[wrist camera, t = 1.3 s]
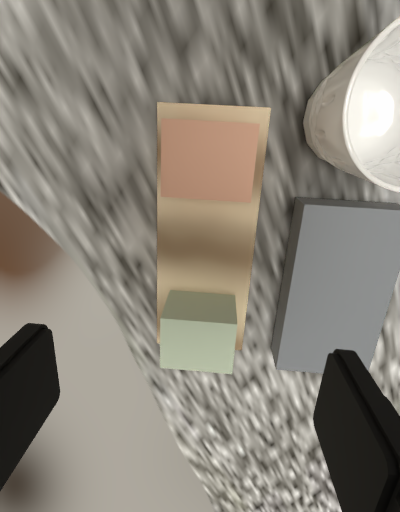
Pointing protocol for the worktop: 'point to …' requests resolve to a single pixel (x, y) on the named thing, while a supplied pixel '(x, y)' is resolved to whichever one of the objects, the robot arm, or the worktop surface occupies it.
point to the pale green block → (198, 332)
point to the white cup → (361, 112)
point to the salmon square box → (208, 159)
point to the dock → (335, 281)
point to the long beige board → (208, 223)
